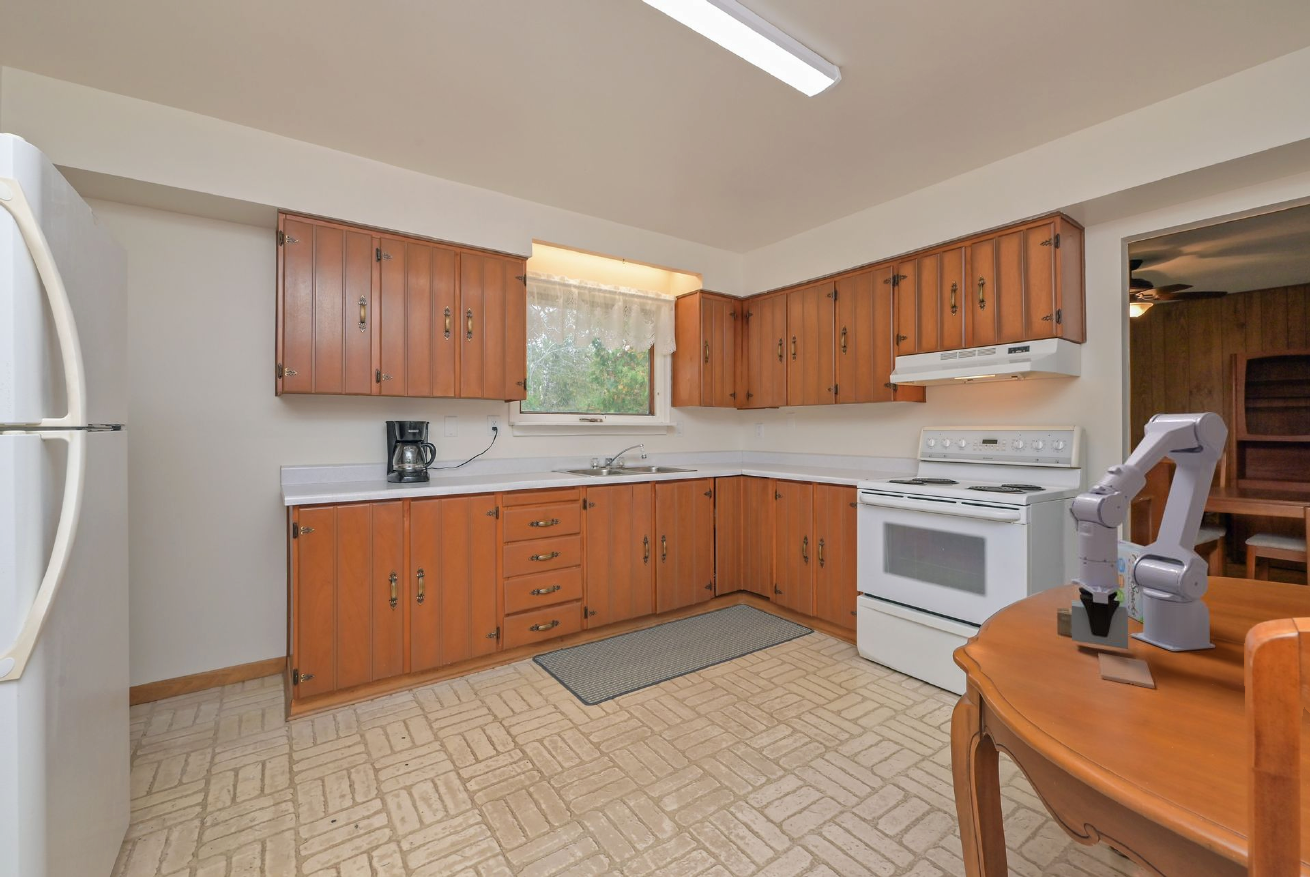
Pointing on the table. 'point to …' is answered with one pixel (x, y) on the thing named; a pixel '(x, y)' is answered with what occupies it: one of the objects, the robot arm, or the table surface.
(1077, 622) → the gray block
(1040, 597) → the table surface
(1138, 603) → the snack box
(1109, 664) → the terracotta tile
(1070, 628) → the letter block
